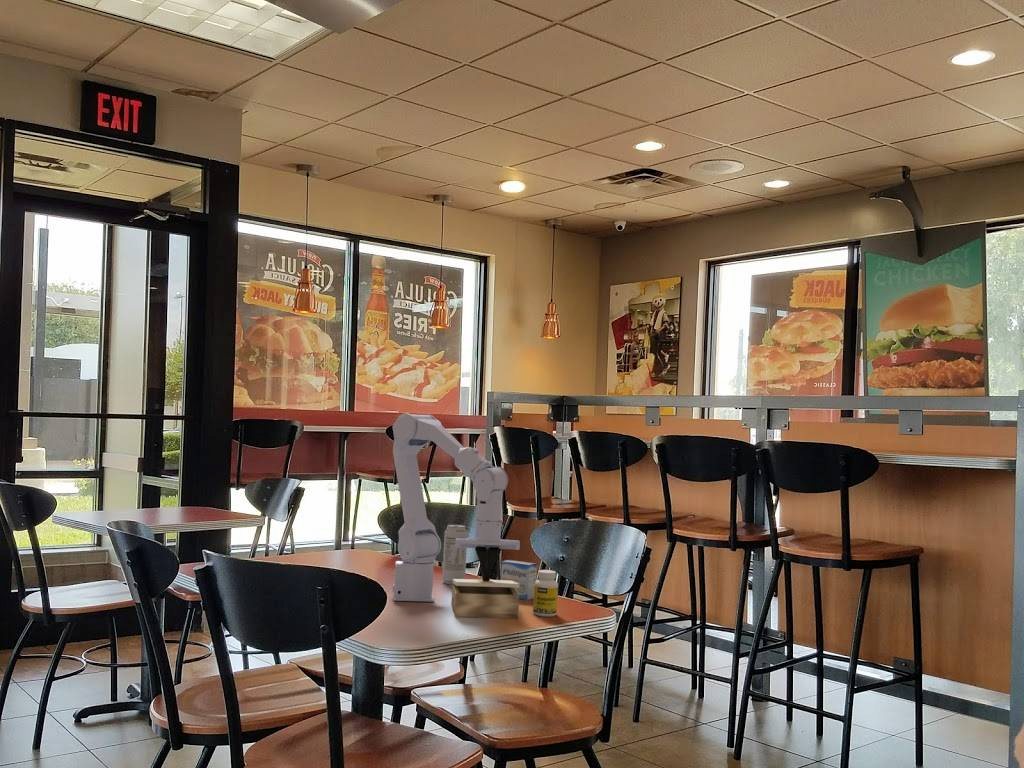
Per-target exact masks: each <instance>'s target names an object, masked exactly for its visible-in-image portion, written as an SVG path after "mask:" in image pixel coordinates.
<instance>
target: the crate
mask: <svg viewBox="0 0 1024 768" xmlns="http://www.w3.org/2000/svg"><path fill="white" fill-rule="evenodd" d="M451 585H452V588H451V603H450V604H451V608H452V611H453V615H454V617H455V618H480V619H481V618H487V619H488V618H490V619H491V618H492V619H519V608H520V605H519V603H520V599H519V595H518V593H517V592H516V590H515V589H514V587H483V586H456V585H455V584H454V583H453V582H452V584H451Z"/></svg>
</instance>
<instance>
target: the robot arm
mask: <svg viewBox="0 0 1024 768" xmlns="http://www.w3.org/2000/svg"><path fill="white" fill-rule="evenodd" d="M392 431H393V438H394V439H393V446H392V456H393V461H394V467H395V473H396V479H397V484H398V491H399V497H400V504H401V509H402V515H403V520H404V521H403V522H404V523H403V525H402V526H400V528H399V530H398V531H397V533H398V534H397V535H398V542H397V551H398V555H399V556H400V558H401V560H396V561H395V564H394V565H395V567H394V581H393V584H392V590H391V591H392V593H393V601H394V602H395V601H397V602H435V598H434V596H435V595H434V593H433V585H434V583H433V582H434V564H435V561H436V558H437V556H438V555H439V554H440V552H441V549H442V542H441V538H440V536H439V535H438V533H437V530H436V526H435V525H434V523H432V522H431V521H430V520H429V519H428V515H427V510H426V503H425V497H424V492H423V486H422V481H421V473H420V468H419V463H418V456H417V455H418V454H419V452H420V450H422V449H423V448H424V447H425V446H426V445H428V444H429V442H433V443H434V444H435V445H436V446H438V448H440V449H442V450H443V451H444V452H446V454H448V455H449V456H451V457H452V458H453V459H454V466H455V467H456V468H457V469H458V470H459V471H460V472H462V473H463V474H464V475H465V476H466V477H467V478H468V479H470V481H472V486H473V488H474V490H475V493H476V495H475V497H476V518H475V519H476V520H475V522H476V523H475V535H474V536H475V537H474V538H473V537H472V538H468V537H467V538H456V543H455V547H456V548H467V549H474V551H475V553H476V556H477V559H478V561H479V565H480V569H481V579H482V580H483V581H489V580H491V579H490V577H491V576H492V575H491V574H492V571H493V567H494V565H495V563H496V561H497V559H498V557H499V556H500V553H501V551H500V550H515V551H520V547H521V545H520V544H521V543H520V542H521V541H520V540H517V539H516V540H515V539H505V538H504V539H502V538H501V533H502V512H503V497H504V496H503V494H504V491H505V490H506V489H507V487H508V484H509V477H508V474H507V472H506V471H505V470H504V468H503V467H501V466H494V465H493V462H492V461H490V460H487V459H486V458H484V457H483V456H482V454H480V453H479V452H480V449H478V448H477V447H471V446H466V447H465V446H463V445H462V444H461V443H460V442H459V441H458V439H456V438H455V437H454V436H453V435H452V434H451V433H450V432H449V431H448V430H447V429H446V428H445V427H444V426H443V425H442V422H441V421H440V420H438V419H436V417H435V416H434V415H432V414H429V413H427V414H412V413H411V414H410V413H408V412H407V413H402V414H400V415H398V417H397V418H396V420H395V422H394V423H393V425H392Z"/></svg>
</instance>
